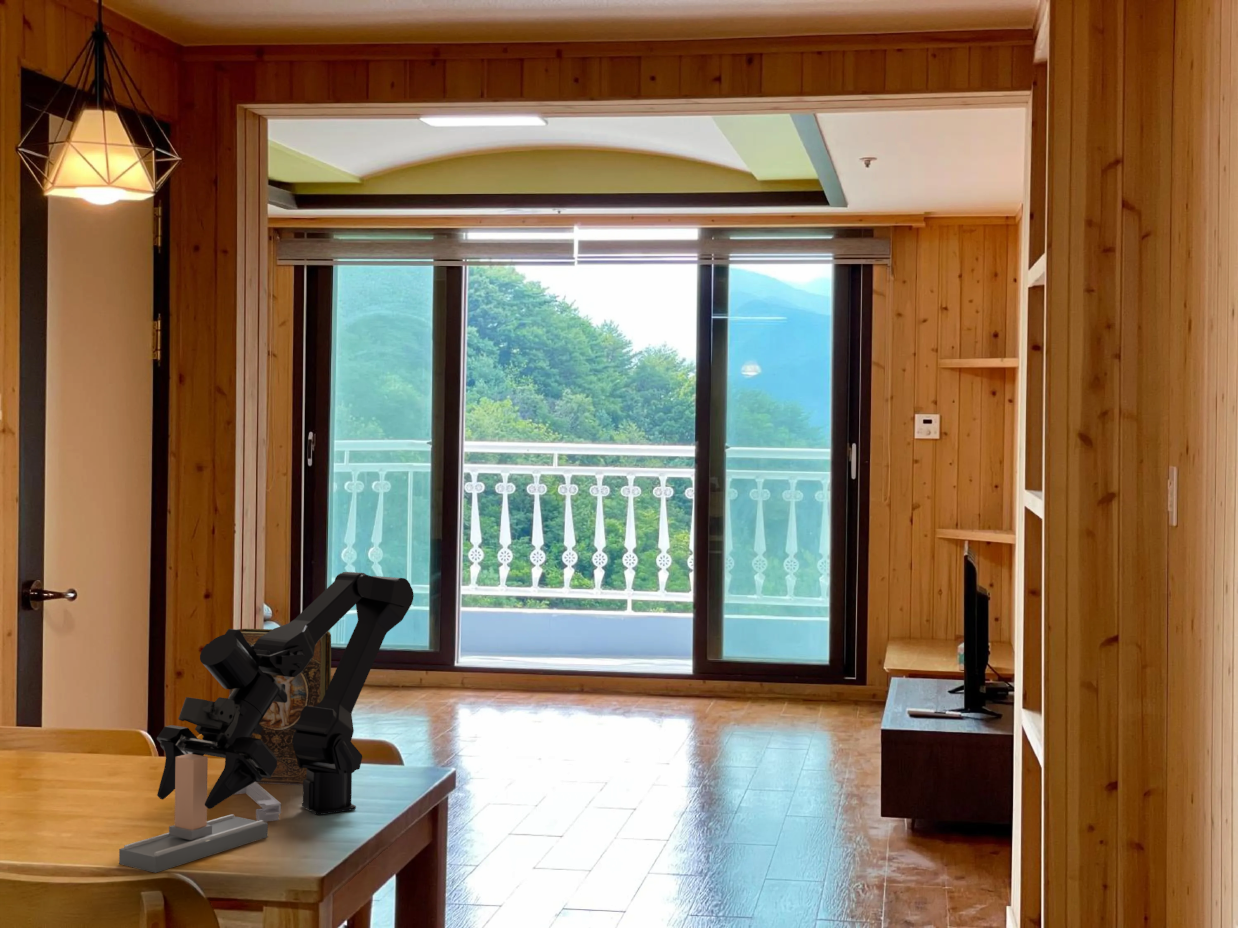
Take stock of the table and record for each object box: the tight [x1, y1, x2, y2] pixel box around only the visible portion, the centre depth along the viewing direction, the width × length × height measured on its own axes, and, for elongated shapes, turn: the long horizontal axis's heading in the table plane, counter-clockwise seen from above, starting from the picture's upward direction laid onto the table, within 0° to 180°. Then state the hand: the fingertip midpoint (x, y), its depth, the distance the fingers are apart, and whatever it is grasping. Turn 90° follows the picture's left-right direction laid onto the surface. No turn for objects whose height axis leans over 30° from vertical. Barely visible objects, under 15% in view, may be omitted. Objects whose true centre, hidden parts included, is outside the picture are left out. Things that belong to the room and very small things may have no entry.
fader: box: [168, 754, 212, 840], centre depth 185 cm, size 4×4×11 cm
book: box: [229, 628, 332, 786], centre depth 227 cm, size 16×6×25 cm, turn 84°
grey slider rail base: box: [118, 813, 269, 874], centre depth 186 cm, size 20×7×2 cm, turn 150°
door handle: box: [232, 782, 282, 823], centre depth 209 cm, size 21×3×3 cm, turn 29°
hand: (183, 802), depth 184 cm, fingers open, 9 cm apart
